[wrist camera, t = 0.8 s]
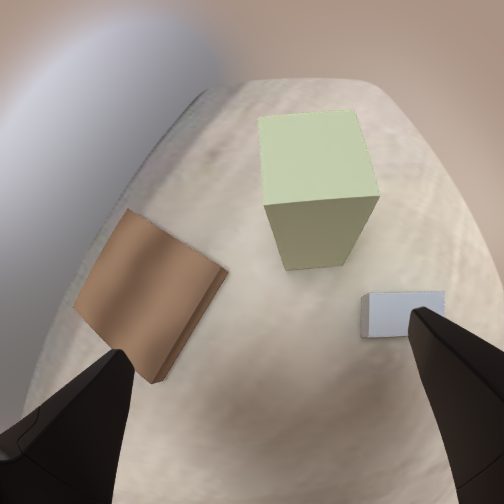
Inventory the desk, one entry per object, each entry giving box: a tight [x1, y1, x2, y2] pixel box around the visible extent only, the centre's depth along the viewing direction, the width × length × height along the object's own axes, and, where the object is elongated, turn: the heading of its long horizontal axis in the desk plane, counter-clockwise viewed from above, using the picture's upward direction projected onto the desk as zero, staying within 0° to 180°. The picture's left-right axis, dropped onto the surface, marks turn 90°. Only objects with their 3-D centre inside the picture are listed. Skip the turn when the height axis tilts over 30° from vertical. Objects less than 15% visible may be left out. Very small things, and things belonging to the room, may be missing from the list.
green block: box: [258, 110, 380, 270], centre depth 16 cm, size 4×4×12 cm
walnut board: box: [73, 209, 228, 384], centre depth 22 cm, size 11×11×2 cm
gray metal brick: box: [361, 291, 445, 337], centre depth 18 cm, size 6×3×3 cm, turn 86°
